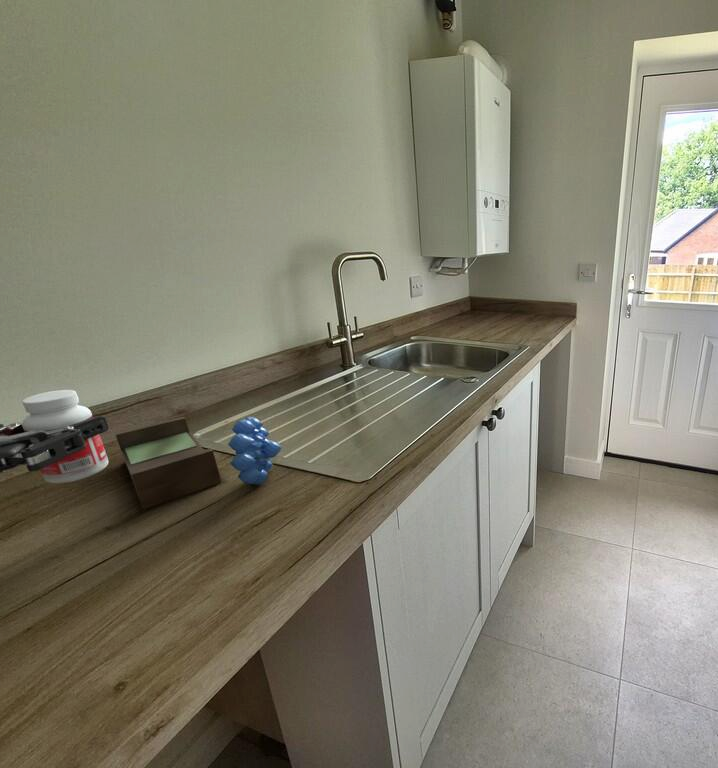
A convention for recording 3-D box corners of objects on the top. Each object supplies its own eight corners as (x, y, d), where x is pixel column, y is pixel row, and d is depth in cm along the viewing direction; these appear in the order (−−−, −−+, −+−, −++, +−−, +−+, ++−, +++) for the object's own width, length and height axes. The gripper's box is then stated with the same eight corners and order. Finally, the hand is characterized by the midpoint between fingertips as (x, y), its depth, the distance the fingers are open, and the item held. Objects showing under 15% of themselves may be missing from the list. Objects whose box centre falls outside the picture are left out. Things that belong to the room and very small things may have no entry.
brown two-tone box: (143, 509, 61) (131, 474, 59) (125, 462, 75) (114, 432, 73) (221, 482, 68) (213, 450, 66) (192, 444, 82) (184, 416, 80)
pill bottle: (79, 460, 58) (52, 387, 55) (122, 461, 58) (97, 387, 55) (30, 484, 52) (-4, 404, 49) (77, 485, 52) (46, 404, 49)
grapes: (279, 498, 64) (264, 428, 60) (230, 505, 62) (211, 434, 58) (295, 462, 74) (283, 401, 70) (253, 468, 73) (239, 405, 69)
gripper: (-67, 460, 38) (120, 397, 53) (-189, 450, 39) (27, 392, 55) (-33, 528, 40) (137, 449, 56) (-150, 516, 42) (47, 442, 57)
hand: (82, 421), depth 55 cm, fingers closed on pill bottle, 6 cm apart
